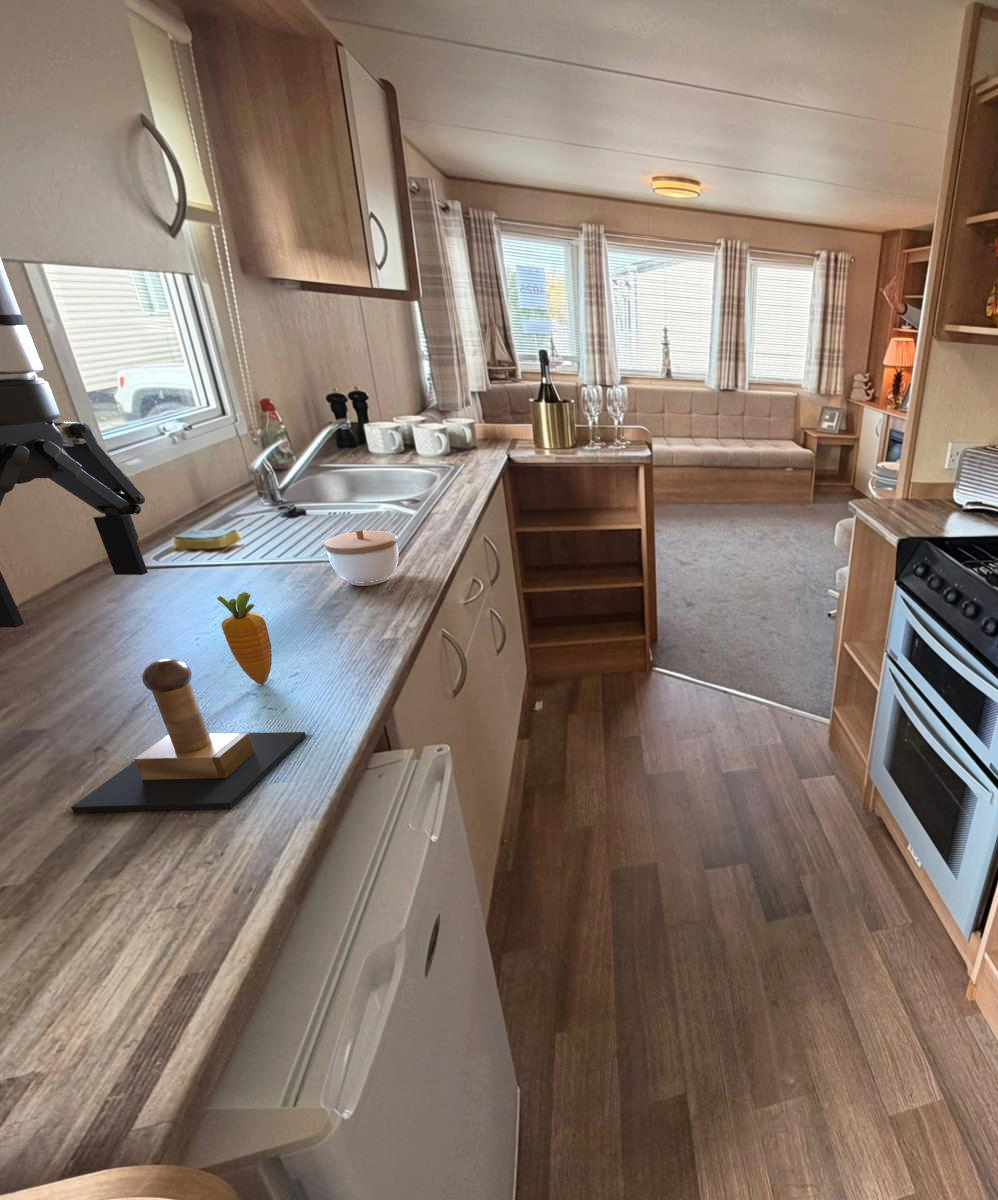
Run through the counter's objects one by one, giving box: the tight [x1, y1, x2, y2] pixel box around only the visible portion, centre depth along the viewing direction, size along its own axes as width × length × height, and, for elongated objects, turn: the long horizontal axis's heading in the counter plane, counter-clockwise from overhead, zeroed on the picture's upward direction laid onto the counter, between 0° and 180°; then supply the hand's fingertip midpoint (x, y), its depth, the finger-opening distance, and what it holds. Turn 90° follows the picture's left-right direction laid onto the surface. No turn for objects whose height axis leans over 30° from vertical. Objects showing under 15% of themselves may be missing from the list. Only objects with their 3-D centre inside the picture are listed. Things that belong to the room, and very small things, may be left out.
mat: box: [70, 731, 307, 814], centre depth 77 cm, size 16×14×1 cm
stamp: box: [133, 658, 255, 780], centre depth 75 cm, size 9×5×14 cm, turn 96°
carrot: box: [216, 591, 273, 686], centre depth 93 cm, size 5×5×15 cm
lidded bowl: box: [323, 529, 399, 587], centre depth 134 cm, size 13×13×11 cm
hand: (74, 597), depth 64 cm, fingers open, 13 cm apart
